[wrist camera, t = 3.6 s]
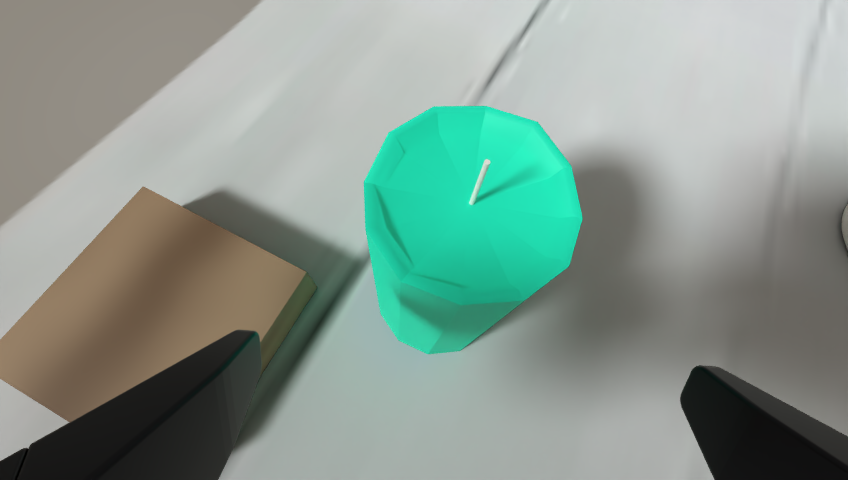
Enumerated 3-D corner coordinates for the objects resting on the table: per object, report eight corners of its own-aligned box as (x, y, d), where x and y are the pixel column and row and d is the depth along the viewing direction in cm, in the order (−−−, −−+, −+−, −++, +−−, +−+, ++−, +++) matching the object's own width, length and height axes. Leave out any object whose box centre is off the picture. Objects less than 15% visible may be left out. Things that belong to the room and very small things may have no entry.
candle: (428, 218, 22) (462, 27, 10) (517, 287, 20) (661, 153, 9) (352, 301, 20) (296, 171, 8) (447, 382, 18) (523, 354, 7)
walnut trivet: (317, 287, 20) (306, 272, 17) (199, 472, 16) (166, 483, 14) (171, 210, 21) (143, 186, 18) (32, 369, 17) (-23, 364, 15)
